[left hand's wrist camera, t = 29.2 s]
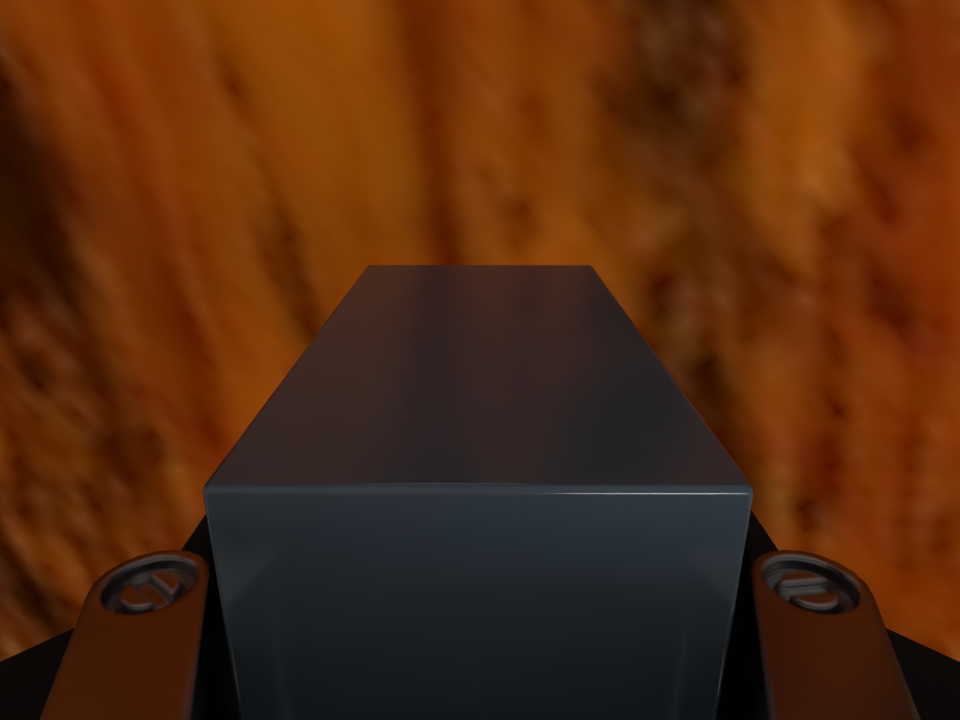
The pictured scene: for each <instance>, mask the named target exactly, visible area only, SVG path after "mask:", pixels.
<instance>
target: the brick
mask: <svg viewBox="0 0 960 720" xmlns="http://www.w3.org/2000/svg"><path fill="white" fill-rule="evenodd" d="M203 497H204V503H205V509H206V516H207V522H208V528H209V534H210V540H211V546H212V552H213V558H214V564H215V571H216V577H217V583H218V589H219V595H220V601H221V607H222V613H223V620H224V626H225V632H226V638H227V644H228V650H229V656H230V662H231V669H232V675H233V681H234V687H235V693H236V699H237V705H238V711H239V718H240V720H717V714H718V708H719V702H720V696H721V690H722V684H723V677H724V671H725V665H726V659H727V653H728V647H729V640H730V634H731V628H732V622H733V616H734V610H735V603H736V597H737V591H738V585H739V579H740V573H741V566H742V560H743V554H744V548H745V542H746V535H747V529H748V523H749V517H750V511H751V505H752V498H753V489H752V486H751V484H750V483H749V481H748V480H747V479H746V477H745V476H744V474H743V473H742V472H741V470H740V469H739V468H738V466H737V465H736V463H735V462H734V461H733V459H732V458H731V457H730V455H729V454H728V452H727V451H726V450H725V448H724V447H723V446H722V444H721V443H720V442H719V440H718V439H717V437H716V436H715V435H714V433H713V432H712V431H711V429H710V428H709V426H708V425H707V424H706V422H705V421H704V420H703V418H702V417H701V415H700V414H699V413H698V411H697V410H696V409H695V407H694V406H693V404H692V403H691V402H690V400H689V399H688V398H687V396H686V395H685V393H684V392H683V391H682V389H681V388H680V387H679V385H678V384H677V383H676V381H675V380H674V378H673V377H672V376H671V374H670V373H669V372H668V370H667V369H666V367H665V366H664V365H663V363H662V362H661V361H660V359H659V358H658V356H657V355H656V354H655V352H654V351H653V350H652V348H651V347H650V345H649V344H648V343H647V341H646V340H645V339H644V337H643V336H642V334H641V333H640V332H639V330H638V329H637V328H636V326H635V325H634V324H633V322H632V321H631V319H630V318H629V317H628V315H627V314H626V313H625V311H624V310H623V308H622V307H621V306H620V304H619V303H618V302H617V300H616V299H615V297H614V296H613V295H612V293H611V292H610V291H609V289H608V288H607V286H606V285H605V284H604V282H603V281H602V280H601V278H600V277H599V275H598V274H597V273H596V271H595V270H594V269H593V267H592V266H589V265H369V266H367V267H366V269H365V270H364V271H363V273H362V274H361V276H360V277H359V278H358V280H357V281H356V282H355V284H354V285H353V286H352V288H351V289H350V290H349V292H348V293H347V294H346V296H345V297H344V298H343V300H342V301H341V302H340V304H339V305H338V306H337V308H336V309H335V310H334V312H333V313H332V314H331V316H330V317H329V319H328V320H327V321H326V323H325V324H324V325H323V327H322V328H321V329H320V331H319V332H318V333H317V335H316V336H315V337H314V339H313V340H312V341H311V343H310V344H309V345H308V347H307V348H306V349H305V351H304V352H303V353H302V355H301V356H300V357H299V359H298V360H297V362H296V363H295V364H294V366H293V367H292V368H291V370H290V371H289V372H288V374H287V375H286V376H285V378H284V379H283V380H282V382H281V383H280V384H279V386H278V387H277V388H276V390H275V391H274V392H273V394H272V395H271V396H270V398H269V399H268V400H267V402H266V403H265V405H264V406H263V407H262V409H261V410H260V411H259V413H258V414H257V415H256V417H255V418H254V419H253V421H252V422H251V423H250V425H249V426H248V427H247V429H246V430H245V431H244V433H243V434H242V435H241V437H240V438H239V439H238V441H237V442H236V443H235V445H234V446H233V448H232V449H231V450H230V452H229V453H228V454H227V456H226V457H225V458H224V460H223V461H222V462H221V464H220V465H219V466H218V468H217V469H216V470H215V472H214V473H213V474H212V476H211V477H210V478H209V480H208V481H207V482H206V484H205V486H204V489H203Z"/></svg>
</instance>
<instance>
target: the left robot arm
mask: <svg viewBox="0 0 960 720" xmlns="http://www.w3.org/2000/svg"><path fill="white" fill-rule="evenodd" d="M0 720H240V718H239V711H238V705H237V699H236V693H235V687H234V681H233V675H232V669H231V662H230V656H229V650H228V644H227V638H226V632H225V626H224V620H223V613H222V607H221V601H220V595H219V589H218V583H217V577H216V571H215V564H214V558H213V552H212V546H211V540H210V534H209V528H208V522H207V516H206V515H205V516H204V518H203V519H202V521H201V522H200V523H199V525H198V526H197V528H196V529H195V531H194V532H193V534H192V535H191V537H190V538H189V540H188V541H187V543H186V544H185V545H184V547H183V548H182V550H181V551H180V550H166V551H156V552H152V553H148V554H144V555H140V556H137V557H135V558H132V559H130V560H127V561H125V562H122V563H121V564H119V565H117V566H116V567H114V568H112V569H111V570H109V571H107V572H106V573H105V574H104V575H103V576H102V577H100V578H99V579H98V580H97V581H96V582H95V583H94V584H93V586H92V588H91V589H90V591H89V592H88V594H87V596H86V599H85V602H84V604H83V607H82V609H81V612H80V615H79V617H78V620H77V623H76V625H75V628H73V629H71V630H69V631H66V632H64V633H62V634H60V635H58V636H56V637H53V638H51V639H49V640H47V641H45V642H43V643H40V644H38V645H36V646H34V647H32V648H30V649H27V650H25V651H23V652H21V653H19V654H16V655H14V656H12V657H10V658H8V659H6V660H3V661H1V662H0ZM717 720H960V662H958V661H956V660H954V659H952V658H950V657H947V656H945V655H943V654H941V653H939V652H937V651H934V650H932V649H930V648H928V647H926V646H924V645H921V644H919V643H917V642H915V641H913V640H911V639H908V638H906V637H904V636H902V635H900V634H897V633H895V632H893V631H891V630H889V629H887V628H885V625H884V623H883V620H882V617H881V615H880V612H879V609H878V607H877V604H876V602H875V599H874V596H873V594H872V592H871V591H870V589H869V588H868V586H867V584H866V583H865V582H864V581H863V580H862V579H861V578H860V577H858V576H857V575H856V574H855V573H854V572H853V571H851V570H849V569H848V568H846V567H844V566H843V565H841V564H839V563H838V562H835V561H833V560H830V559H828V558H825V557H823V556H820V555H816V554H812V553H808V552H804V551H794V550H780V551H778V549H777V548H776V546H775V545H774V543H773V542H772V540H771V539H770V537H769V536H768V534H767V533H766V531H765V530H764V529H763V527H762V526H761V524H760V523H759V521H758V520H757V518H756V517H755V515H754V514H753V512H752V511H750V517H749V523H748V529H747V535H746V542H745V548H744V554H743V560H742V566H741V573H740V579H739V585H738V591H737V597H736V603H735V610H734V616H733V622H732V628H731V634H730V640H729V647H728V653H727V659H726V665H725V671H724V677H723V684H722V690H721V696H720V702H719V708H718V714H717Z"/></svg>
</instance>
